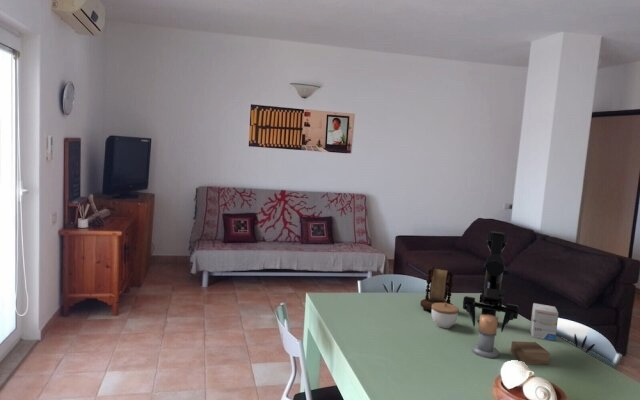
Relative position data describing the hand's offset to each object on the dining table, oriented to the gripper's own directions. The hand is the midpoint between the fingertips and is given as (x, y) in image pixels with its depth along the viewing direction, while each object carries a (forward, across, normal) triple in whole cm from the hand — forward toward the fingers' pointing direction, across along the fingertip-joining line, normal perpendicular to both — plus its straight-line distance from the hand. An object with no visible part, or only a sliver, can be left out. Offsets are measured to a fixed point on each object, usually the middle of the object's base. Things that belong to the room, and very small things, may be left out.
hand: (487, 328), depth 160 cm
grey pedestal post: (+6, 0, +8) cm, 9 cm away
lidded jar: (-8, -17, +21) cm, 28 cm away
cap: (0, 0, +2) cm, 2 cm away
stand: (+3, +15, +10) cm, 18 cm away
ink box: (-16, +20, +29) cm, 39 cm away
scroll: (-21, -22, +34) cm, 46 cm away
